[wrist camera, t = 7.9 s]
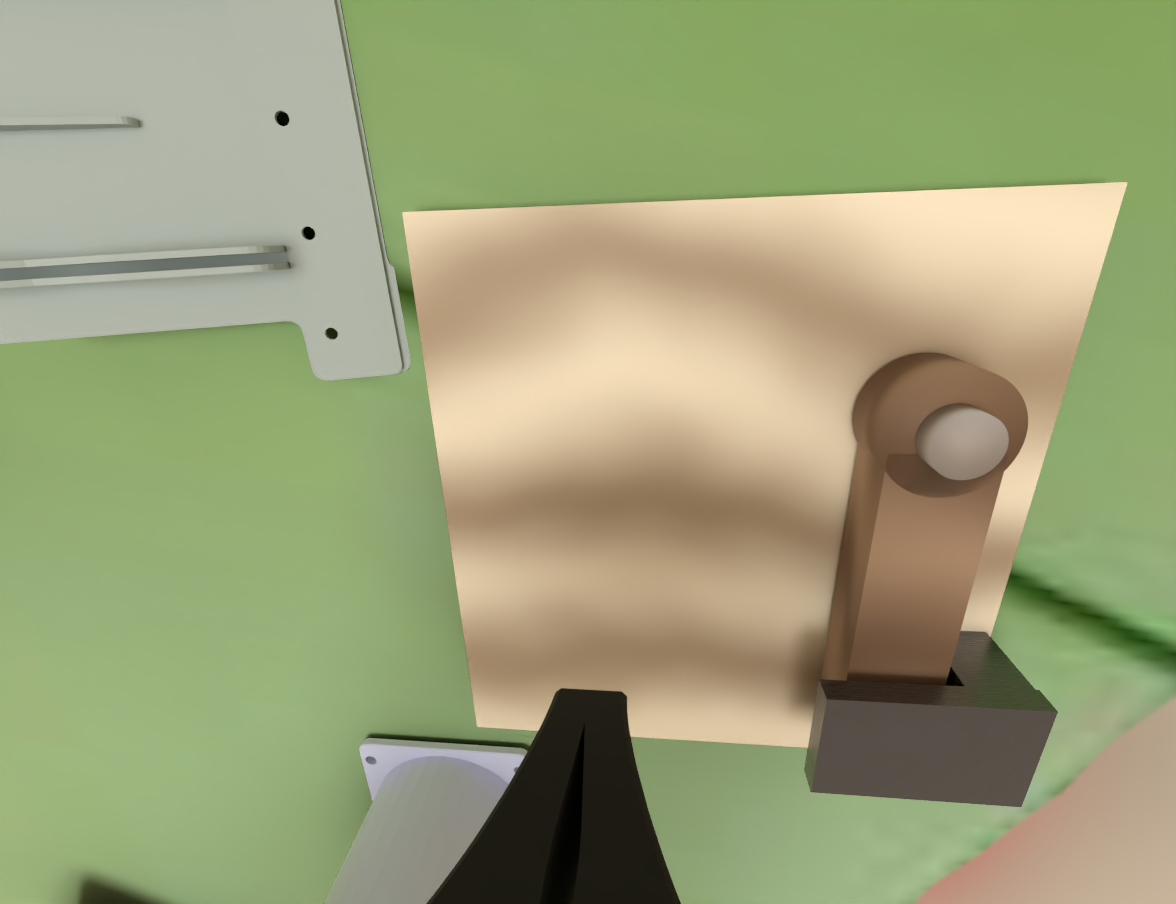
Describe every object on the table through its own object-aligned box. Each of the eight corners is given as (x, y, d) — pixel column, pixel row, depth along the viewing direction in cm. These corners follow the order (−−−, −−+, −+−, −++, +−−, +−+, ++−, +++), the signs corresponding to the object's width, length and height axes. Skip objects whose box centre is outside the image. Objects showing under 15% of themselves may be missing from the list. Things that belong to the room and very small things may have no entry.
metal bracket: (-97, 433, 15) (-551, -389, 9) (57, 383, 20) (-175, -157, 15) (440, 380, 17) (328, -311, 11) (449, 348, 22) (376, -134, 17)
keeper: (962, 718, 20) (1021, 807, 17) (786, 708, 21) (810, 791, 18) (988, 631, 19) (1057, 711, 16) (797, 624, 19) (826, 699, 16)
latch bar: (862, 353, 16) (905, 376, 13) (997, 351, 15) (1069, 375, 13) (805, 723, 21) (827, 792, 18) (903, 729, 20) (941, 800, 18)
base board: (941, 734, 22) (954, 756, 21) (483, 707, 24) (477, 727, 23) (1097, 185, 14) (1127, 182, 14) (416, 213, 16) (402, 212, 16)
